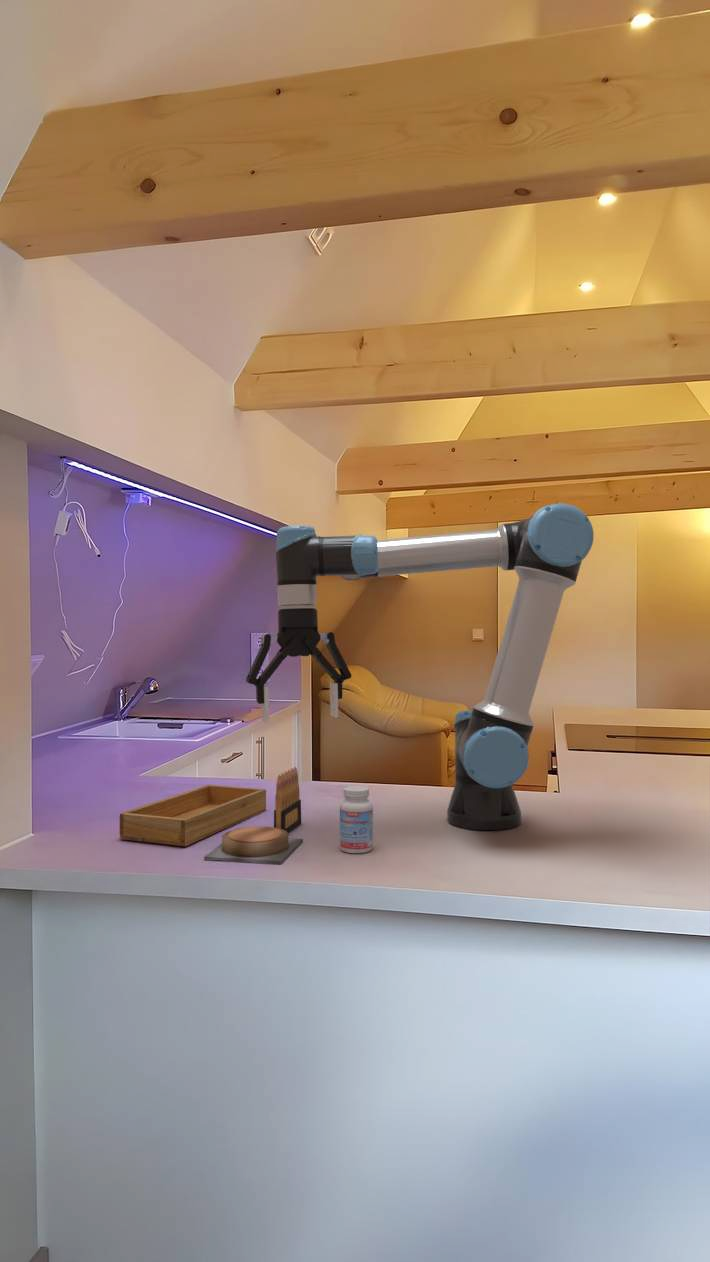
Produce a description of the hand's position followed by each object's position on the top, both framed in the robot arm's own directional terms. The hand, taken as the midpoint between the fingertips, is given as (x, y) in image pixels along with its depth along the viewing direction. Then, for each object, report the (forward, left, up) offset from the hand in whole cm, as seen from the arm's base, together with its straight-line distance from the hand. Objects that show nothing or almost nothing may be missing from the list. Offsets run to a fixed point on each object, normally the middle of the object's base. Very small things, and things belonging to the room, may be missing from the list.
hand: (300, 718), depth 149 cm
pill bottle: (-12, +5, -23) cm, 27 cm away
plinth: (+6, +9, -23) cm, 25 cm away
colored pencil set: (+4, -6, -23) cm, 25 cm away
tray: (+24, -7, -24) cm, 35 cm away
